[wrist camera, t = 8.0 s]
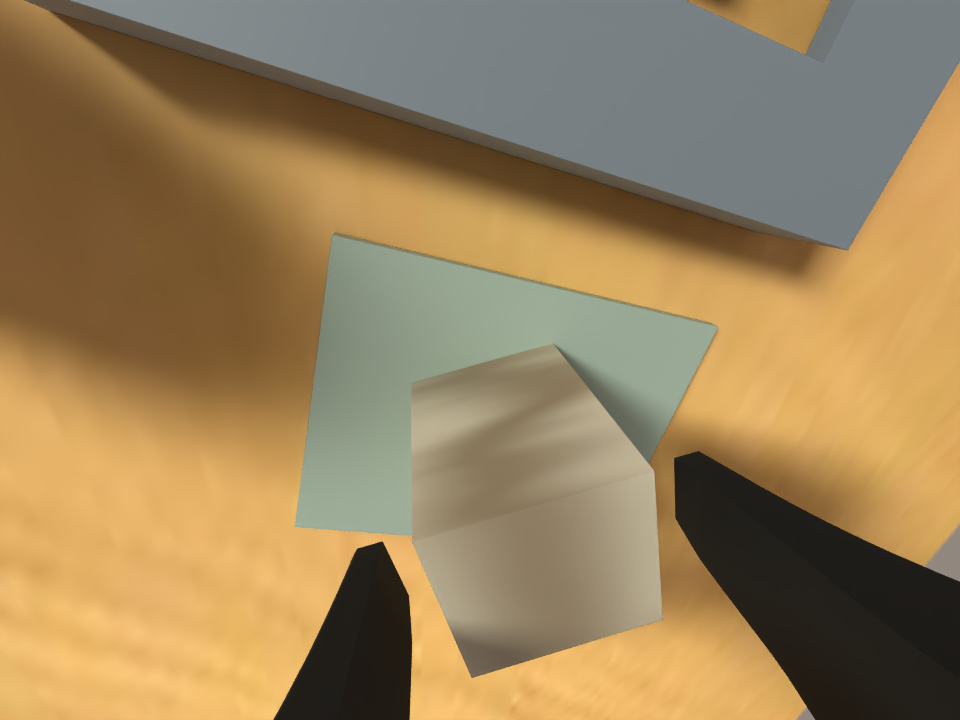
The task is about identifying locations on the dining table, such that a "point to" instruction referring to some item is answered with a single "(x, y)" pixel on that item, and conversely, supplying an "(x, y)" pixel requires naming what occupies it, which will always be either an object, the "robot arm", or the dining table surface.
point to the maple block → (530, 510)
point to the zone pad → (460, 367)
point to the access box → (609, 88)
